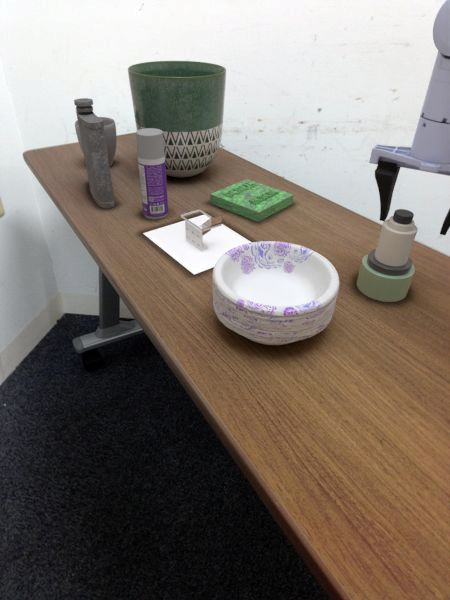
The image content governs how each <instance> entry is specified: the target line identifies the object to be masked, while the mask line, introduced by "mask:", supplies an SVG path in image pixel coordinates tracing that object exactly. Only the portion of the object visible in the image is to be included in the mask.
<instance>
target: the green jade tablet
mask: <svg viewBox="0 0 450 600" xmlns="http://www.w3.org/2000/svg"><path fill="white" fill-rule="evenodd" d="M209 195H210V200H209V201H210V205H213V206H216V207H219V208H221V209H222V210H223V209H224V210H226V211H229V212H231V213H234V214H236V215H239V216H241V217H244V218H246V219H249V220H251V221H253V222H257V223H260V222H261V221H263V220H265V219H267V218H269V217H270V216H272V215H274V214H277V213H278V212H280V211H282V210H284V209H285V208H288V207H289V206H291V205H293V202H294V194H293V193H290V192H288V191H284V190H282V189H278V188H276V187H275V188H274V187H272V186H269V185H266V184H263V183H260V182H257V181H254V180H251V179H248V178H246V179H243V180H241V181H238V182H236V183H234V184H231V185H229V186H227V187H223V188H222V189H219V190H216V191H215V192H212V193H210V194H209Z"/></svg>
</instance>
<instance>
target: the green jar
mask: <svg viewBox="0 0 450 600" xmlns="http://www.w3.org/2000/svg"><path fill="white" fill-rule="evenodd" d="M375 251H376V248H373V249H371V250H370V251H369V252H368V253H367V254H365V255H364V256H363V257H362V259H361V263H360V266H359V270H358V274H357V279H356V287H357V289H358V291H360V292H361V294H363V295H364V296H366V297H368V298H369V299H372V300H375V301H378V302H382V303H396V302H400V301H403V300H404V299H406V297H407V295H408V293H409V290H410V287H411V284H412V283H413V282H412V281H413V279H414V276H415V273H416V267H415V265H414V264H413V260H412V259H413V258H411V256H409V257H408V260H407V263H406V264H405V265H403V266H388V265H385V264H382V263H380V262H379V261H377V260H376V258H375V256H374V254H375Z"/></svg>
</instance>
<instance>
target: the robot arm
mask: <svg viewBox="0 0 450 600" xmlns="http://www.w3.org/2000/svg"><path fill="white" fill-rule="evenodd" d="M432 40H433V44H434V46H435V48H436V50H437V54H436V58H435V62H434V65H433V68H432V71H431V75H430V79H429V83H428V86H427V89H426V92H425V96H424V100H423V105H422V108H421V111H420V115H419V119H418V123H417V125H416V130H415V133H414V137H413V140H412V145H411V147H410V146H399V145H398V146H397V145H384V144H377V143H376V144H374V145H373V147H372V149H371V153H370V157H369V161H368V163H369V164H373V165H377V166H376V168H375V169H374V179H375V181H376V185H377V189H378V195H379V196H378V197H379V207H380V208H379V209H380V210H379V212H380V213H379V221H380V222H384V221H386V220H387V218H388V216H389V212H390V209H391V204H392V199H393V194H394V190H395V187H396V183H397V181H398V176H399V173H400V170H401V168H405V169H410V170H415V171H420V172H426V173H432V174H437V175H444V176H449V177H450V0H445V1H444V2H443V4H442V5H441V6H440V8H439V10H438V11H437V14H436V16H435V18H434V22H433V26H432ZM449 229H450V208H449V209H448V211H447V213H446V215H445V218H444V220H443V222H442V225H441V228H440V230H439V235H441V236H446V235H447V233H448V231H449Z"/></svg>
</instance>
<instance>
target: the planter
mask: <svg viewBox="0 0 450 600" xmlns="http://www.w3.org/2000/svg"><path fill="white" fill-rule="evenodd" d="M127 75H128V76H127V77H128V83H129V90H130V95H131V101H132V108H133V114H134V122H135V127H136V128H135V129H136V131H137V130H140V129H145V128H155V129H160V130H162V131H163V141H164V153H165V165H166V176H169V177H172V178H178V179H179V178H180V179H183V178H190V177H195V176H197V175H199V174H201V173H203V172H204V171H205V170H206V169H207V168H209V167H210V165H212V163H213V162H214V161H215V159H216V158H217V155H218V152H219V150H220V147H221V142H222V137H223V126H224V112H225V97H226V96H225V95H226V86H227V85H226V84H227V69H226V67H224V66H222V65H220V64H217V63H212V62H204V61H193V60H192V61H191V60H155V61H146V62H138V63H135V64H132V65H130V66H128V67H127Z"/></svg>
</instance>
